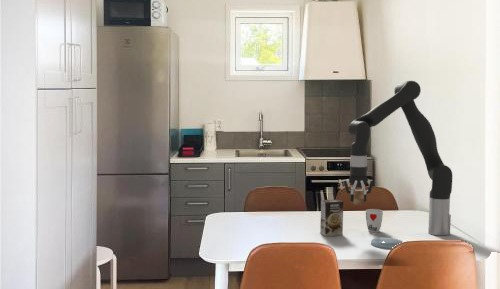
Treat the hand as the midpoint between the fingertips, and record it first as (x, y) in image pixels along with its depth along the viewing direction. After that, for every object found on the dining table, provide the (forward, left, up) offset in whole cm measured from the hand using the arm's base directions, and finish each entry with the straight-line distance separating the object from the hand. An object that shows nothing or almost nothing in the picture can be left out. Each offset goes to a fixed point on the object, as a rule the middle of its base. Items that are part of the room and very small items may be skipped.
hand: (358, 202), depth 256 cm
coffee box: (+11, -8, -17) cm, 22 cm away
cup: (-10, -15, -17) cm, 25 cm away
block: (0, 0, -1) cm, 1 cm away
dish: (-12, +9, -17) cm, 23 cm away
